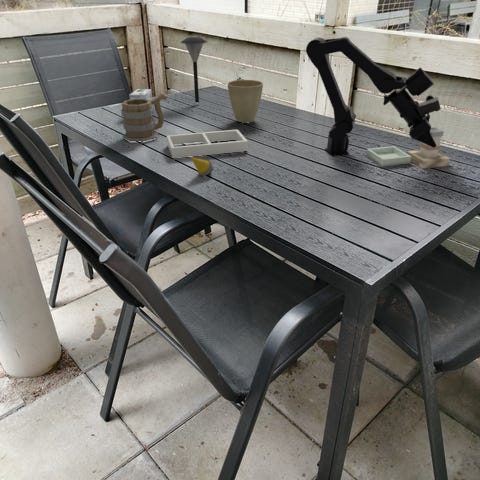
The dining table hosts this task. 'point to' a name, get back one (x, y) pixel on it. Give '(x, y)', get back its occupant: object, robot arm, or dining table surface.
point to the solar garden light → (194, 57)
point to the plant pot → (245, 98)
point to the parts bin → (207, 143)
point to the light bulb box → (141, 94)
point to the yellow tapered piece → (202, 166)
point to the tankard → (142, 118)
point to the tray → (388, 156)
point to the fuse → (427, 150)
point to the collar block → (428, 160)
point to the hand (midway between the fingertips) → (434, 142)
